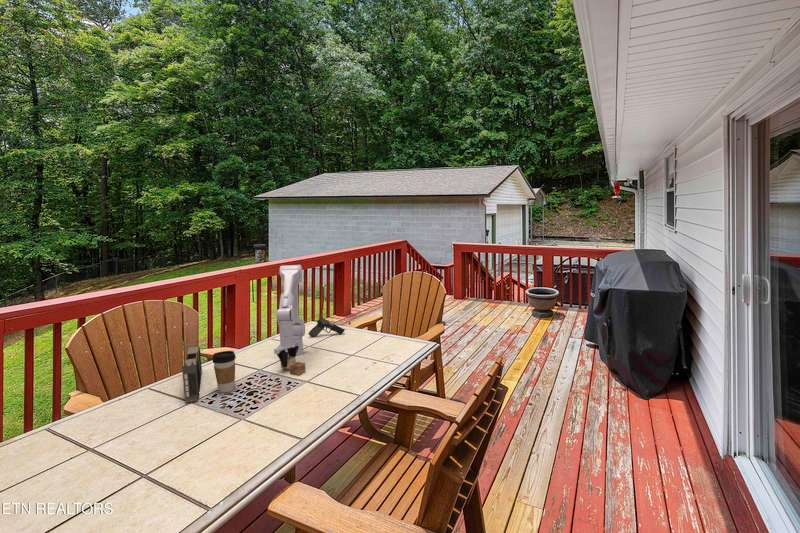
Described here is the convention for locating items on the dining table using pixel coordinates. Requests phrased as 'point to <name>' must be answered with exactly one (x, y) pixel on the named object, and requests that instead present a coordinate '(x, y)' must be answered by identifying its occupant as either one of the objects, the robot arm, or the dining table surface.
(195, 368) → the graphics card
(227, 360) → the coffee cup
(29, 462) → the dining table surface
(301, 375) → the board
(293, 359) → the maple block
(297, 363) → the walnut block
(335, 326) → the handgun
